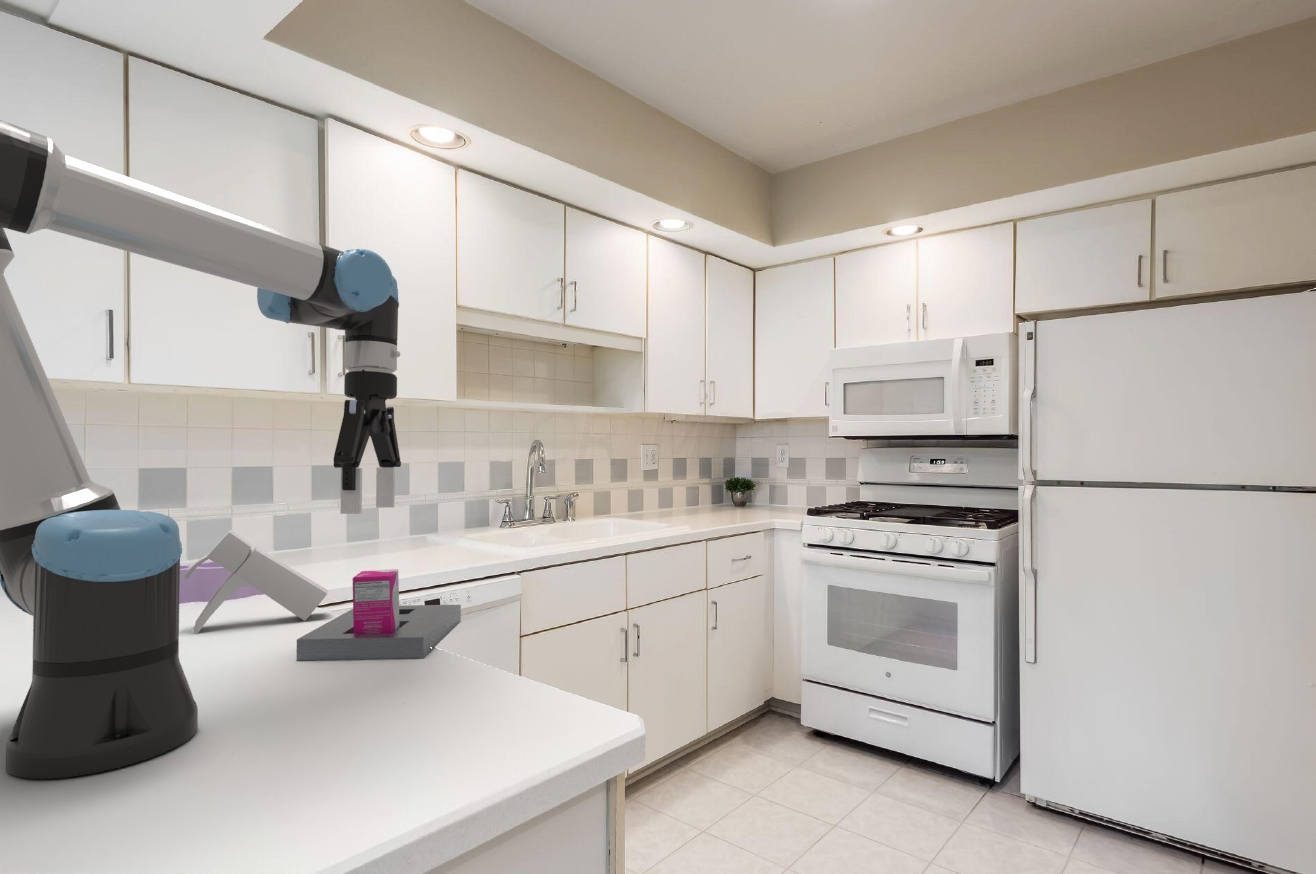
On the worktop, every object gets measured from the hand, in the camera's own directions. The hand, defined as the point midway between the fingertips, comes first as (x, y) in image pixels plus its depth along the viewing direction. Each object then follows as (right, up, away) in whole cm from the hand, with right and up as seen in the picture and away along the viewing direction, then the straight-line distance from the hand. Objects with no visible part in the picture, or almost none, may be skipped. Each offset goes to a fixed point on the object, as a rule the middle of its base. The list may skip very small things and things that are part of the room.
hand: (369, 510), depth 106 cm
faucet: (-26, -22, +16) cm, 38 cm away
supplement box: (+1, -21, 0) cm, 21 cm away
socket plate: (+1, -21, +5) cm, 22 cm away
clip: (-50, -23, +40) cm, 68 cm away
